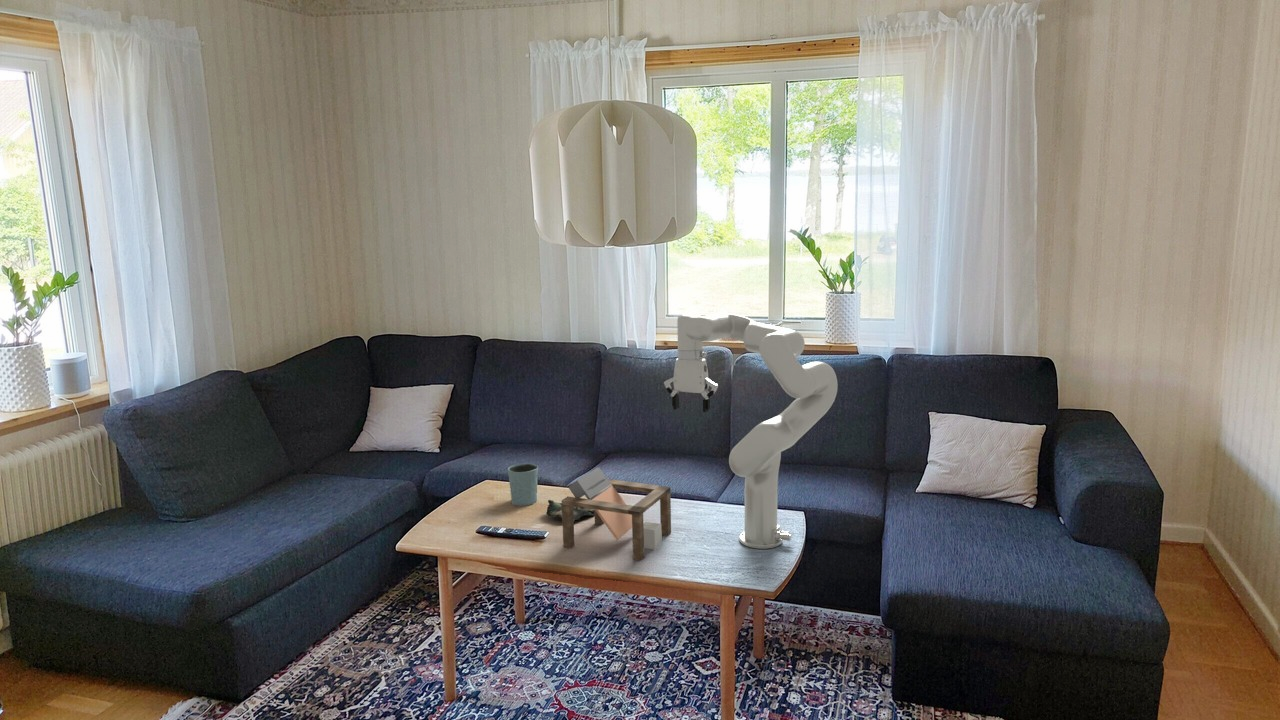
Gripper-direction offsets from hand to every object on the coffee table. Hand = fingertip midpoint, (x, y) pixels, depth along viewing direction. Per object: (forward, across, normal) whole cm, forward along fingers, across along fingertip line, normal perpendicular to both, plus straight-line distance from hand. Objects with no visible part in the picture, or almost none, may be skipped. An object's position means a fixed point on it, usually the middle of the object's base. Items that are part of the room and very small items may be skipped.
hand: (691, 409), depth 257 cm
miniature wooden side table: (+36, +15, +21) cm, 45 cm away
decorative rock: (+37, +39, +7) cm, 54 cm away
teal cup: (+36, +60, +3) cm, 70 cm away
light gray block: (+30, +5, +21) cm, 37 cm away
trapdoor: (+27, +21, +21) cm, 41 cm away
